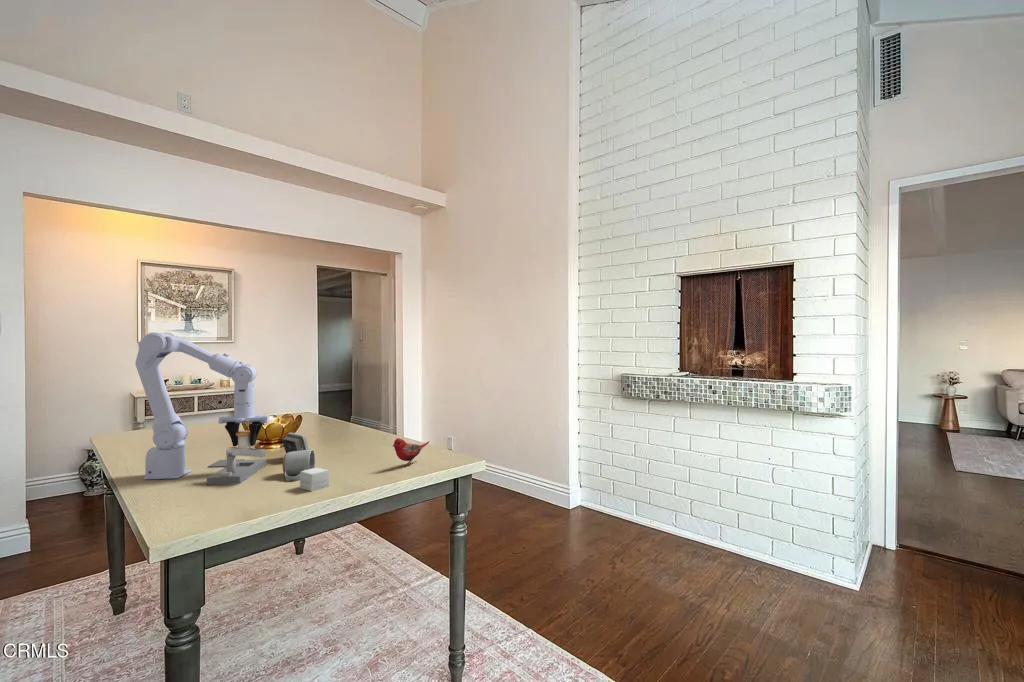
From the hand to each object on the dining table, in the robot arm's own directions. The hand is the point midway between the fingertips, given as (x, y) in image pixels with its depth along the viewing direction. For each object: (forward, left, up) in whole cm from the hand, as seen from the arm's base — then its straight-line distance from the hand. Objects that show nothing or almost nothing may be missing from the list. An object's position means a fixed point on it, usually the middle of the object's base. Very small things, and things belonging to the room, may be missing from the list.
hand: (244, 445), depth 150 cm
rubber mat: (-9, +10, -8) cm, 16 cm away
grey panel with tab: (0, -4, -8) cm, 9 cm away
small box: (+27, -20, -8) cm, 35 cm away
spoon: (+5, -11, -1) cm, 12 cm away
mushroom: (0, 0, -3) cm, 3 cm away
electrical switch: (+12, +13, -8) cm, 20 cm away
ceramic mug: (+19, -8, -8) cm, 22 cm away
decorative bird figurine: (+53, +2, -8) cm, 53 cm away
